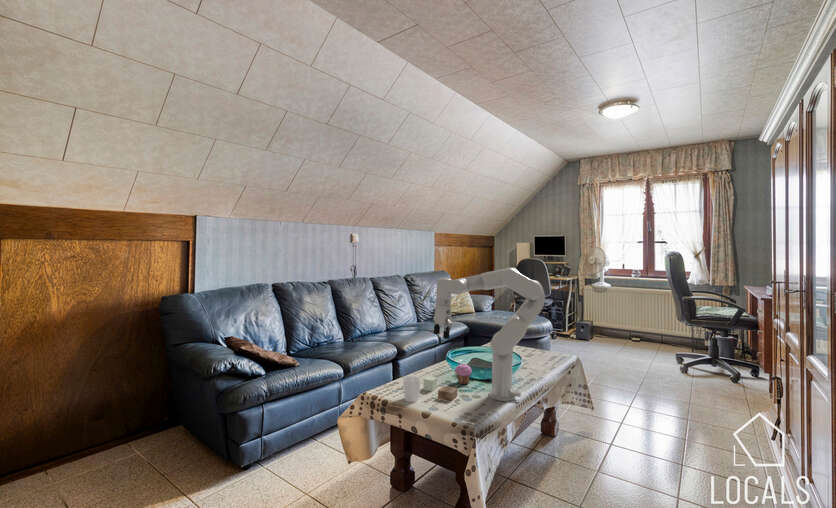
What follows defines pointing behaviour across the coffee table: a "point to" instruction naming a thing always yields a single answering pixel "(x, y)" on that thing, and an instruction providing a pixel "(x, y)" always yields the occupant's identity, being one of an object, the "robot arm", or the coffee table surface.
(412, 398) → the white cup
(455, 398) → the mat
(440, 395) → the walnut base block
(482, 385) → the coffee table surface
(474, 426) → the coffee table surface
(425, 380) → the sage cube
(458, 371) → the cupcake
